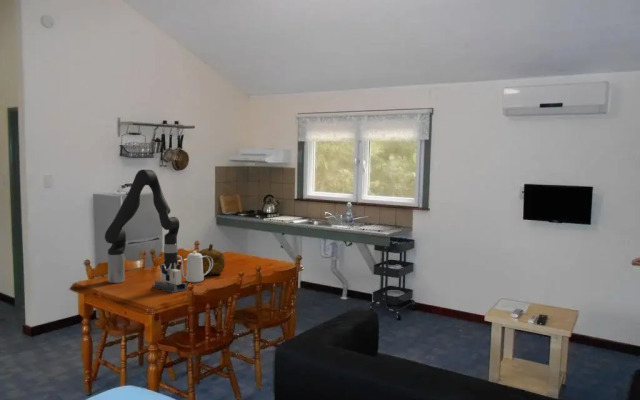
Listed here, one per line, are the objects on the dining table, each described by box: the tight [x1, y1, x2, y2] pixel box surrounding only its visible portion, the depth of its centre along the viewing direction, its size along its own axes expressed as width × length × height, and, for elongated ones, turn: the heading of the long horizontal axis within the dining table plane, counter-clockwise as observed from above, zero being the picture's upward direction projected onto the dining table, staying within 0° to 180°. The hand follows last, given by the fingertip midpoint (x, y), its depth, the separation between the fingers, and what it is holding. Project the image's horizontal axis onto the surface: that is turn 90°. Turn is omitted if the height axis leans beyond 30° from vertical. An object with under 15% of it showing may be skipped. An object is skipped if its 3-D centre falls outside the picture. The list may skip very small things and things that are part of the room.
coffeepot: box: [177, 250, 213, 283], centre depth 323 cm, size 11×25×19 cm, turn 126°
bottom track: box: [152, 279, 189, 294], centre depth 305 cm, size 20×12×4 cm, turn 50°
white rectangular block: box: [160, 266, 182, 285], centre depth 305 cm, size 16×4×8 cm, turn 50°
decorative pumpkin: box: [197, 243, 226, 276], centre depth 344 cm, size 20×21×20 cm
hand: (170, 280), depth 305 cm, fingers closed on white rectangular block, 3 cm apart
